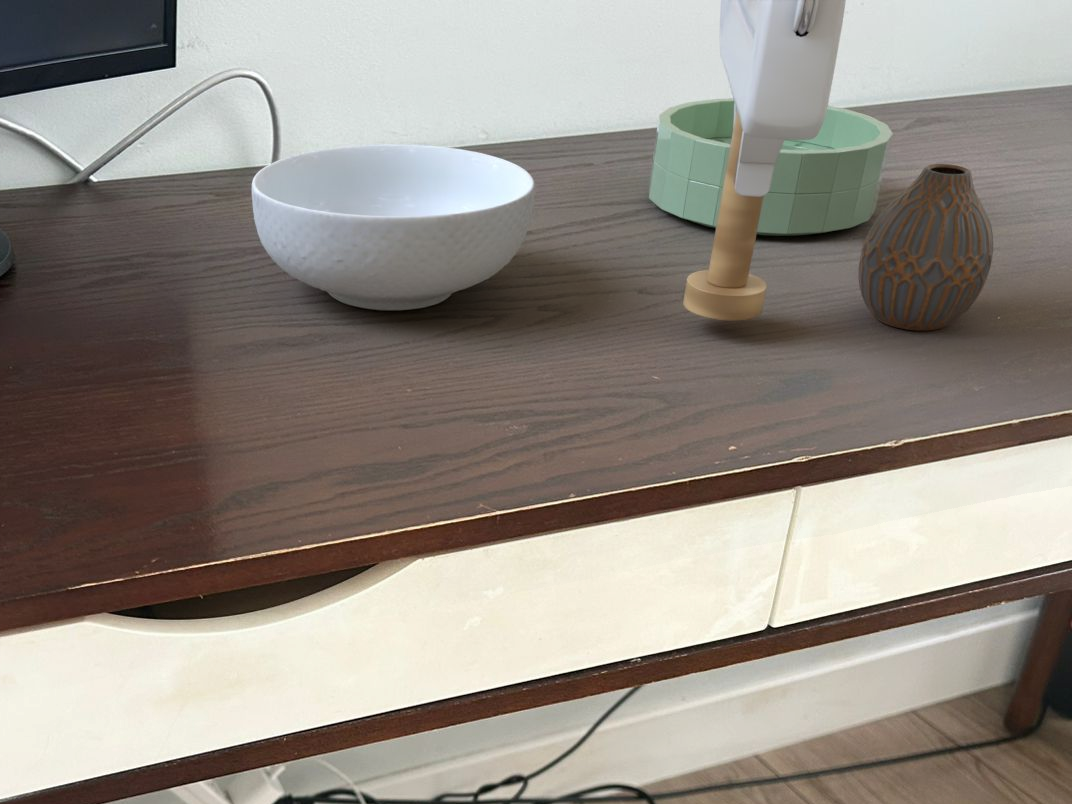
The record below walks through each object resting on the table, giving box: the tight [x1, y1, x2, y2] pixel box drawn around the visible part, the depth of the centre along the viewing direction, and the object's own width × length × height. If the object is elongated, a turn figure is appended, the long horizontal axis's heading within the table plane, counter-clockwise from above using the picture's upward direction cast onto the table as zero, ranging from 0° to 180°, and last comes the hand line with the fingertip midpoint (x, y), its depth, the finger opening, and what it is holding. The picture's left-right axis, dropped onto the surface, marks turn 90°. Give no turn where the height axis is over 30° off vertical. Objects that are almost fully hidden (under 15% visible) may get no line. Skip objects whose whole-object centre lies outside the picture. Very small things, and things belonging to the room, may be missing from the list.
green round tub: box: [648, 97, 894, 237], centre depth 98 cm, size 16×16×6 cm
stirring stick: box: [682, 32, 798, 322], centre depth 75 cm, size 4×4×16 cm
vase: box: [858, 163, 994, 332], centre depth 79 cm, size 7×7×9 cm
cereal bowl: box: [251, 143, 536, 311], centre depth 84 cm, size 17×17×7 cm
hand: (747, 183), depth 75 cm, fingers closed on stirring stick, 2 cm apart
